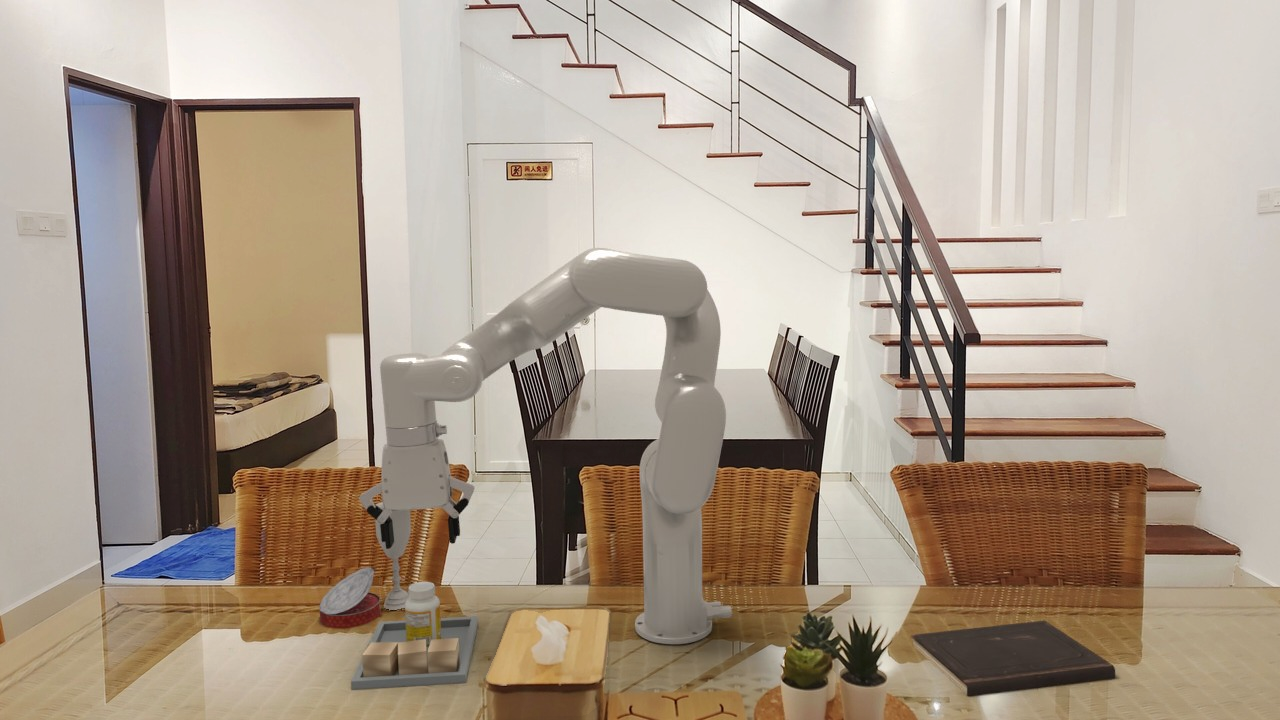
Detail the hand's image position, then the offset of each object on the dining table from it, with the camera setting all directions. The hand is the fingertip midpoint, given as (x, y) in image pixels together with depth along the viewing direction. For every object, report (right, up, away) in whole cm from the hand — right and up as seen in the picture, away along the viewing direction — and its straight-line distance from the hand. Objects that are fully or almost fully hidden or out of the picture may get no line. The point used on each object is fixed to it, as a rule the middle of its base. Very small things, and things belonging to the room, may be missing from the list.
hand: (421, 543), depth 136 cm
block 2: (0, -18, -7) cm, 19 cm away
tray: (0, -17, -1) cm, 17 cm away
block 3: (+5, -17, -6) cm, 19 cm away
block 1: (-4, -18, -7) cm, 20 cm away
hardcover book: (+89, -17, -5) cm, 90 cm away
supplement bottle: (0, -17, +2) cm, 17 cm away
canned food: (-15, -16, +14) cm, 26 cm away
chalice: (-9, -15, +19) cm, 26 cm away
